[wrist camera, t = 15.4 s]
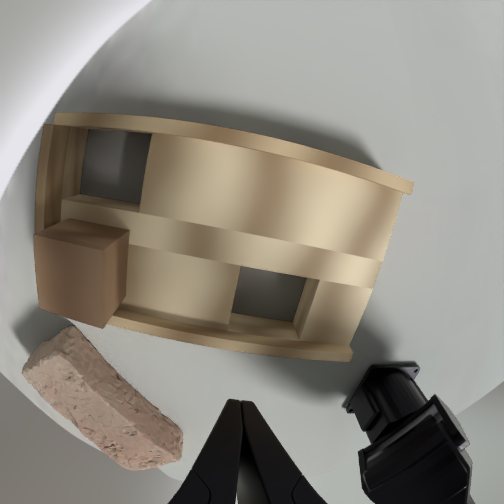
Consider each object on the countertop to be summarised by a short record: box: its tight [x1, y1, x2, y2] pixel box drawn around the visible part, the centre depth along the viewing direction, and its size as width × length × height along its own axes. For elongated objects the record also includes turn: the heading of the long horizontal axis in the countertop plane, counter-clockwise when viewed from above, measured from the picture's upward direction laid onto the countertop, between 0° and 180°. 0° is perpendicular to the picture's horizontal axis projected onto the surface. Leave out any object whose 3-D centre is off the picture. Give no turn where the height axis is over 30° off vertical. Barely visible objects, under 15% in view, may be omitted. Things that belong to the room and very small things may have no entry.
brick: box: [22, 326, 183, 470], centre depth 22 cm, size 17×8×5 cm, turn 31°
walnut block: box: [34, 218, 130, 329], centre depth 15 cm, size 4×4×4 cm
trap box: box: [35, 112, 414, 362], centre depth 17 cm, size 22×13×4 cm, turn 78°
